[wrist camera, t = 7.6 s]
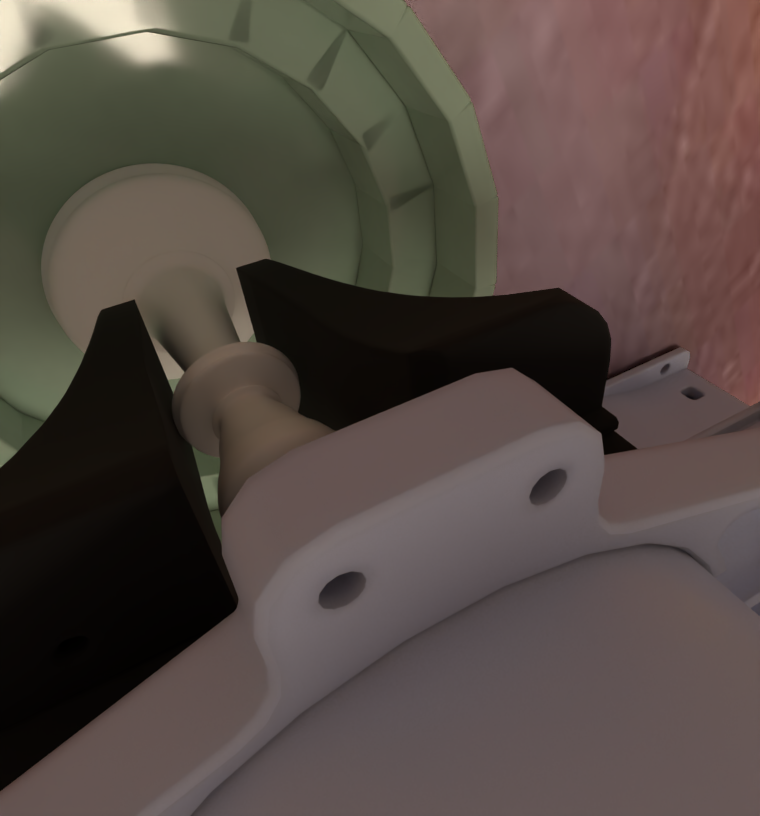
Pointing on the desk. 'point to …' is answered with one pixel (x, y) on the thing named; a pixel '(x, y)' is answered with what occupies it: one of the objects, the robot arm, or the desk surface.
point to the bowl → (237, 152)
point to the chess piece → (181, 306)
